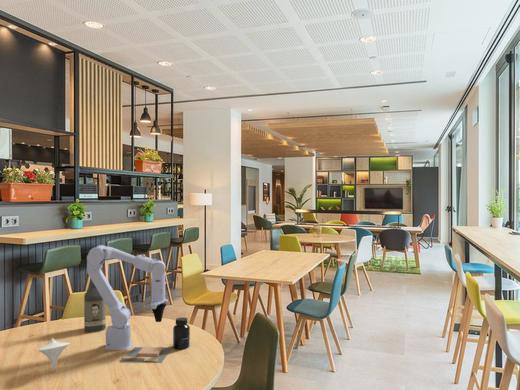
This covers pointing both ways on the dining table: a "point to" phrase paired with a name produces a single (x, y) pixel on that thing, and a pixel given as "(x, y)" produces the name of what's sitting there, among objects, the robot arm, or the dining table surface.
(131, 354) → the mat
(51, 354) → the white spinning top
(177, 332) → the supplement bottle
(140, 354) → the tile
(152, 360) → the turner
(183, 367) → the dining table surface
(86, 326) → the liquor
